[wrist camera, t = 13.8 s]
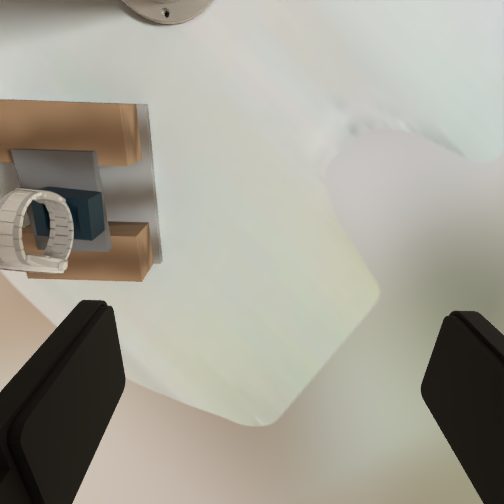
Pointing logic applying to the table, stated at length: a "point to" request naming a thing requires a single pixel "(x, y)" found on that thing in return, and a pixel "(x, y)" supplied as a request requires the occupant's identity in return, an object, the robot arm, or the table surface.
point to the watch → (48, 226)
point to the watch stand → (89, 179)
